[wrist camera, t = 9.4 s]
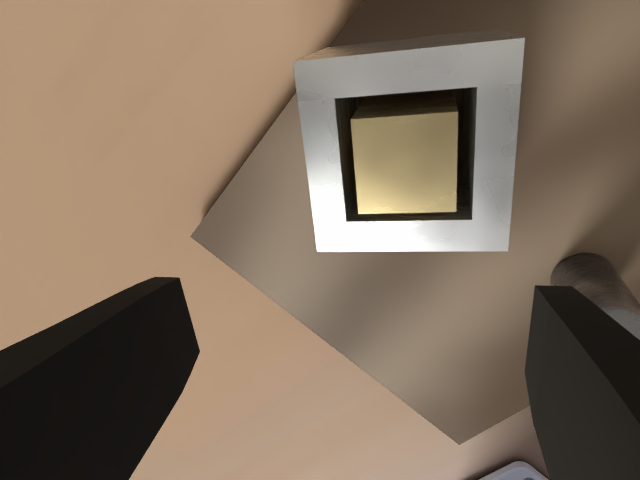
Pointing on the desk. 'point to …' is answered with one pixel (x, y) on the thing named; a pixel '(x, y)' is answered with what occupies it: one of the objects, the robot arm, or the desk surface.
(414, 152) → the pale yellow square peg
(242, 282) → the desk surface
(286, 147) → the tan board
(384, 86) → the steel collar
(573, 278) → the grey metal cylinder
